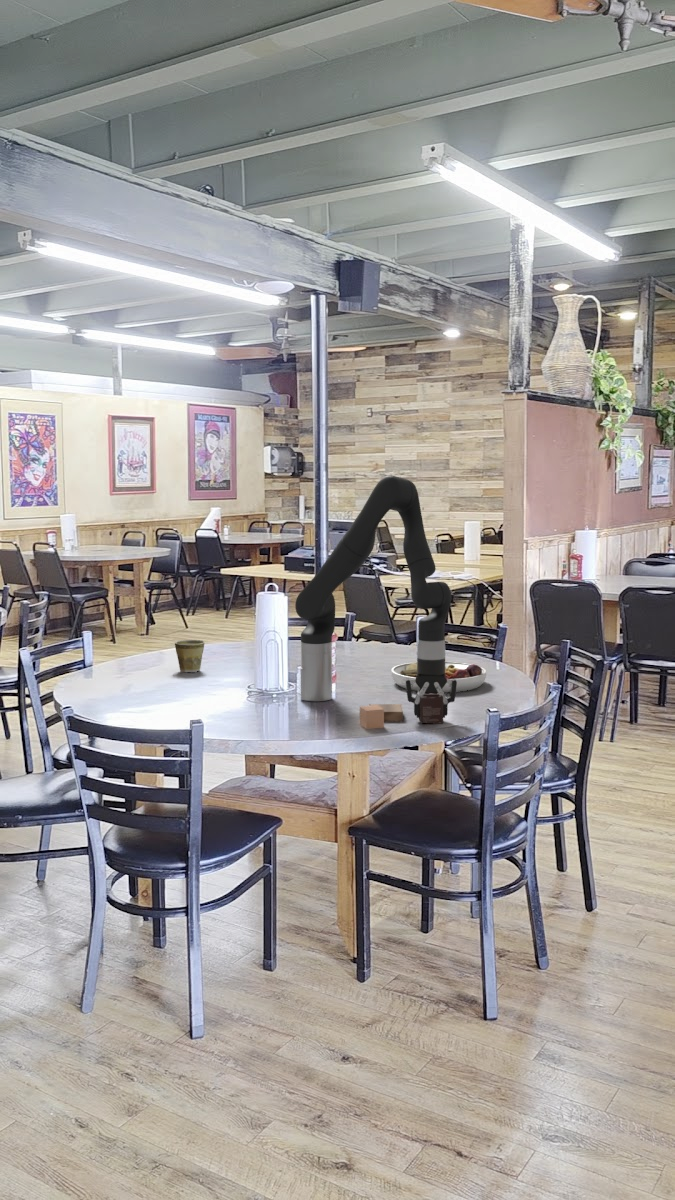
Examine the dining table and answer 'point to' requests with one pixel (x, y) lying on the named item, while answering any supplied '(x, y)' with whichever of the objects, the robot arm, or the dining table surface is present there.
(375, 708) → the terracotta block
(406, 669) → the bowl
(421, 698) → the box
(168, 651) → the dining table surface
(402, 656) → the dining table surface
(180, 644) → the ceramic cup
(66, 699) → the dining table surface
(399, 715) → the plinth
